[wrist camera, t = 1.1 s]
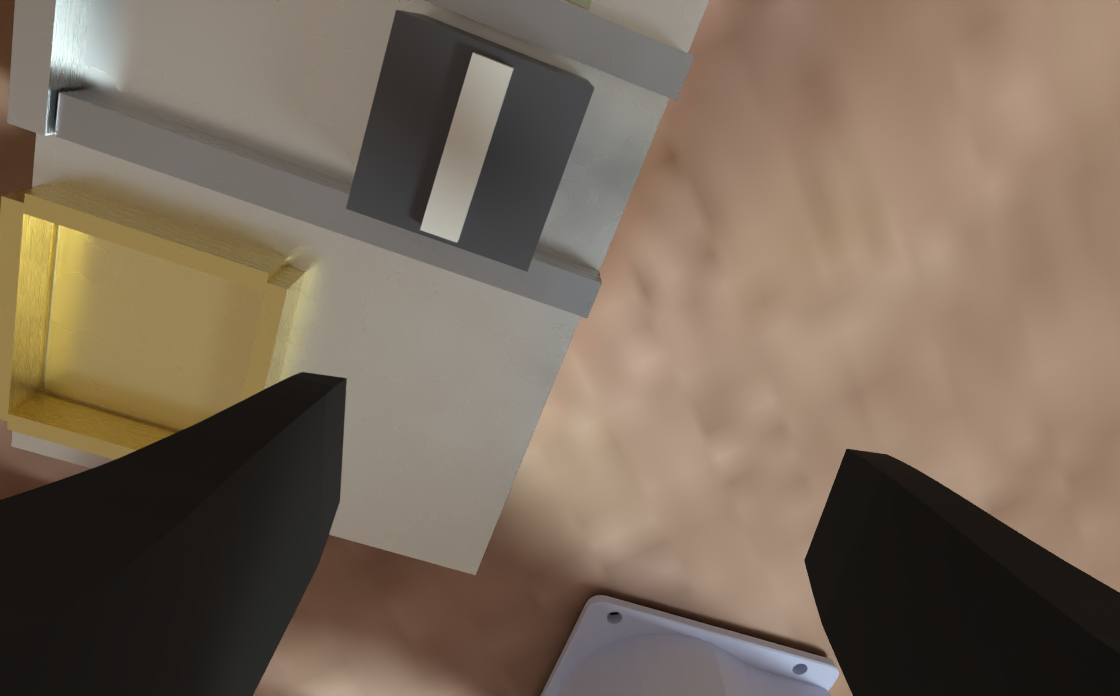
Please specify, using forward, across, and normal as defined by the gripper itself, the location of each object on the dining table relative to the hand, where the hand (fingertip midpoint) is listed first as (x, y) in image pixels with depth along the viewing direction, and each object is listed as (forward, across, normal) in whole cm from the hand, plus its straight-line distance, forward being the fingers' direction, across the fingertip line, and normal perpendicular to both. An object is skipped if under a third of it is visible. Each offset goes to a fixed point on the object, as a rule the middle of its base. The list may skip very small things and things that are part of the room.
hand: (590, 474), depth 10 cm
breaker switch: (+9, +3, -3) cm, 10 cm away
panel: (+10, +6, 0) cm, 12 cm away
